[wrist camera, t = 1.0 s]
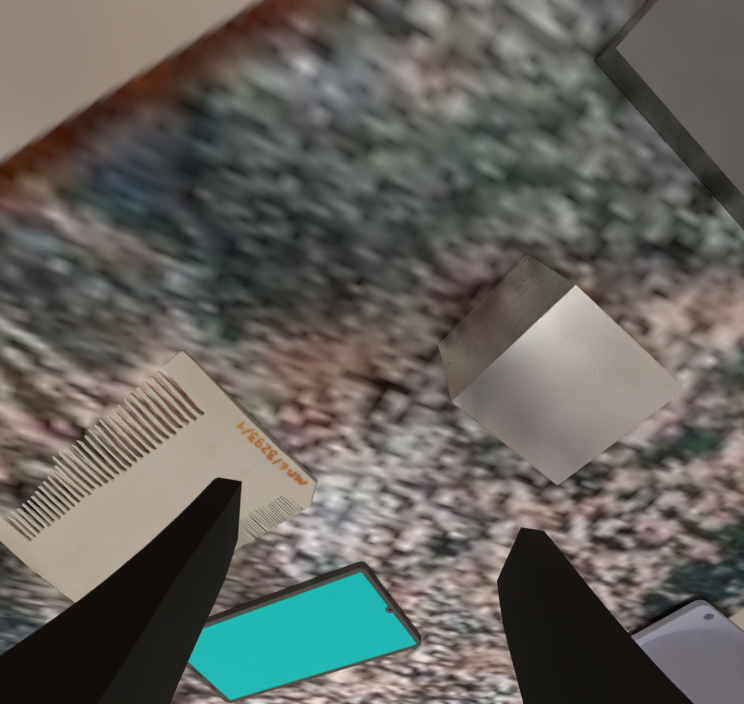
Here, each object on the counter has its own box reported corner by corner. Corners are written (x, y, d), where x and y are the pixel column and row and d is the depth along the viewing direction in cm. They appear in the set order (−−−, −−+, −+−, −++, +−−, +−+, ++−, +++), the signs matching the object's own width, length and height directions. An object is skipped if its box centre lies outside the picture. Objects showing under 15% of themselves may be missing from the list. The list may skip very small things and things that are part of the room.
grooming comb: (189, 343, 19) (181, 350, 19) (332, 488, 22) (329, 499, 21) (-22, 517, 24) (-34, 527, 24) (115, 615, 27) (108, 627, 27)
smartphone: (158, 641, 27) (363, 566, 23) (164, 627, 27) (364, 554, 24) (228, 704, 29) (424, 646, 25) (232, 691, 30) (423, 632, 26)
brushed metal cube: (610, 332, 17) (685, 389, 13) (519, 410, 19) (557, 485, 15) (526, 253, 16) (575, 284, 12) (438, 343, 18) (451, 401, 14)
